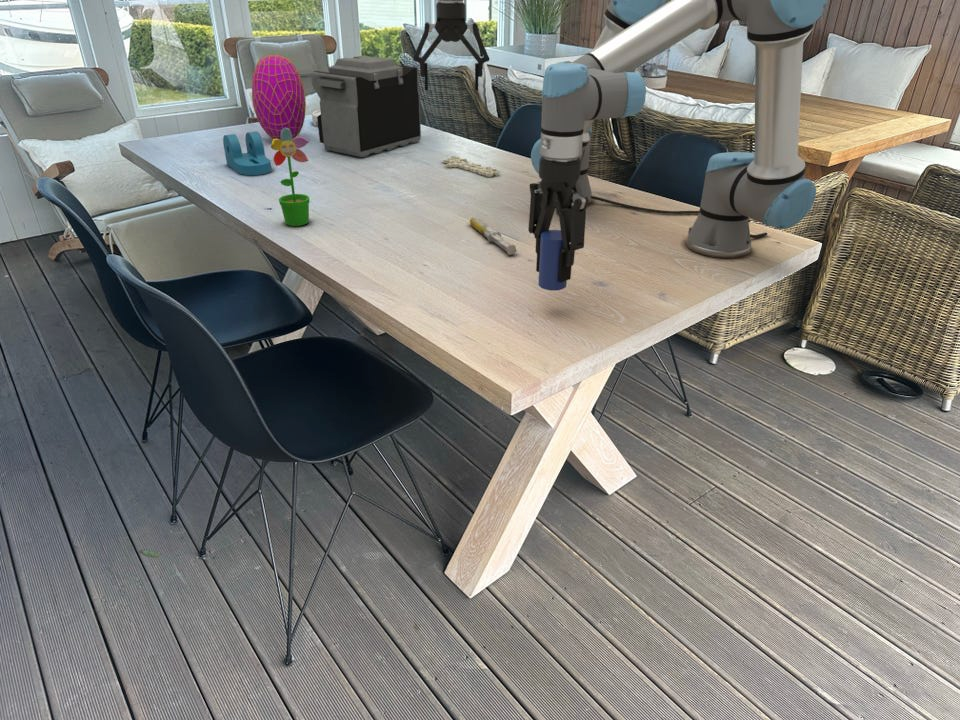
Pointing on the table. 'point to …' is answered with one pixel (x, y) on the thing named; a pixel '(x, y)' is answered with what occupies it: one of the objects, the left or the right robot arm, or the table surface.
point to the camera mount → (246, 154)
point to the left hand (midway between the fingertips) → (451, 89)
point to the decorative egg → (278, 96)
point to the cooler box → (367, 105)
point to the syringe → (492, 235)
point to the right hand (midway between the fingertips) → (553, 274)
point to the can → (550, 260)
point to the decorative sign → (470, 166)
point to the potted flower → (291, 178)
